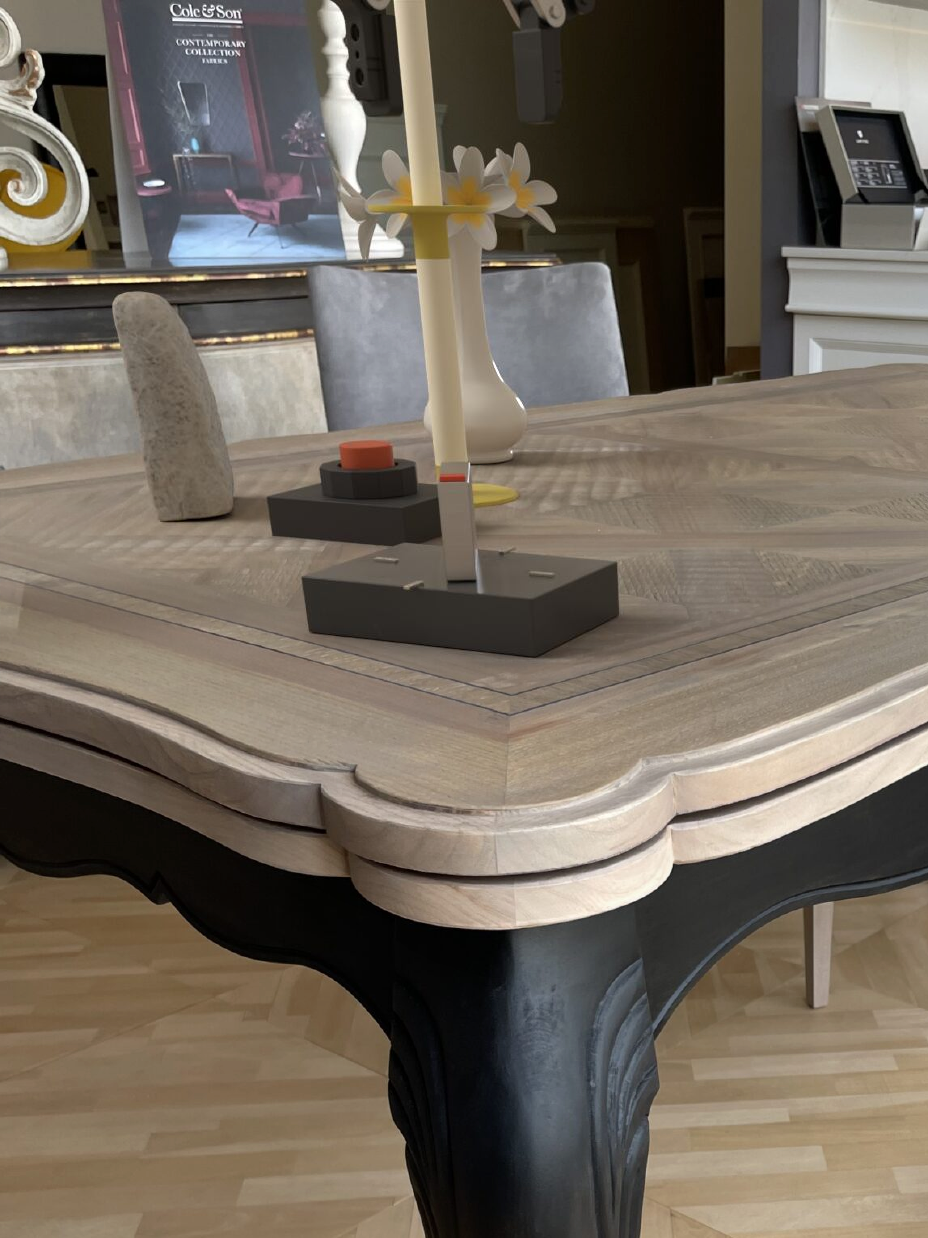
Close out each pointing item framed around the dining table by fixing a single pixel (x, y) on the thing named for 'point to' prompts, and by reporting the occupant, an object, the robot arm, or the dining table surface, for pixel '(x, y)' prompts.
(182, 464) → the decorative stone
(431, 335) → the candle
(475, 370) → the flower vase
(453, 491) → the grey box
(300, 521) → the button box
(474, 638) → the dark grey slotted base
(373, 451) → the button
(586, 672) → the dining table surface
